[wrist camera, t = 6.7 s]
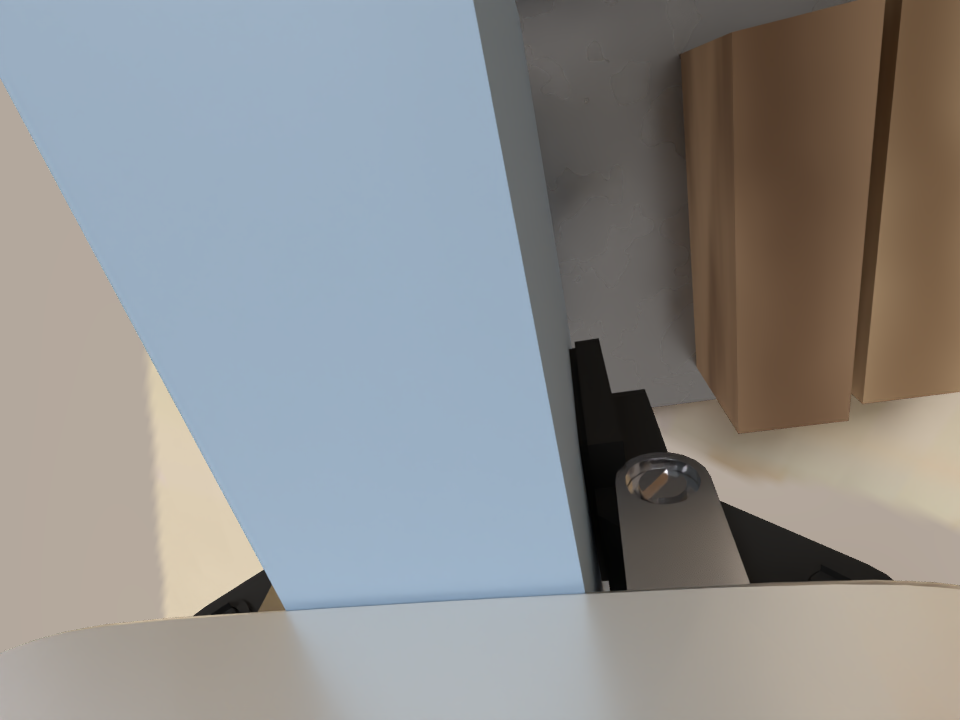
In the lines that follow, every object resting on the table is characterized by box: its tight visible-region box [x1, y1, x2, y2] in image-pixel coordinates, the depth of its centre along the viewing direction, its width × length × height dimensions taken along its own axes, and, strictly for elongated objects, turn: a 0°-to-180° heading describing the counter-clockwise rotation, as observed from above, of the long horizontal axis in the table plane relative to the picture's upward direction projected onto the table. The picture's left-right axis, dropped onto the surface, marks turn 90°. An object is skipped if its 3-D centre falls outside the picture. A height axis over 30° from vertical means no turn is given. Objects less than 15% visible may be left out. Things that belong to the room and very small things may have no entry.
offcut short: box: [851, 0, 960, 404], centre depth 20 cm, size 4×14×5 cm, turn 13°
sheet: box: [0, 0, 610, 611], centre depth 10 cm, size 2×16×11 cm, turn 12°
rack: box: [515, 0, 856, 407], centre depth 19 cm, size 25×21×9 cm
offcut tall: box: [680, 0, 885, 434], centre depth 20 cm, size 4×14×6 cm, turn 12°
